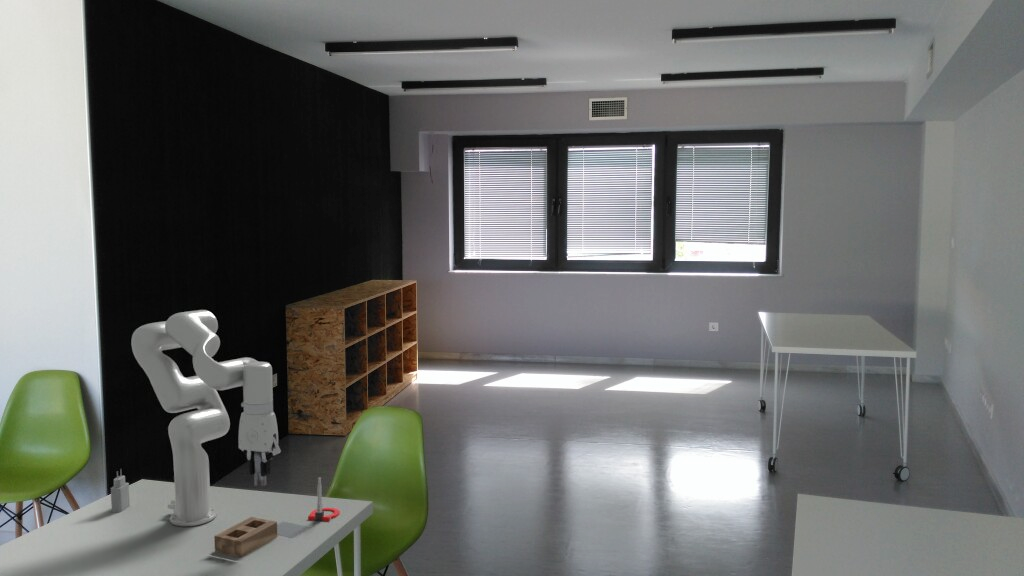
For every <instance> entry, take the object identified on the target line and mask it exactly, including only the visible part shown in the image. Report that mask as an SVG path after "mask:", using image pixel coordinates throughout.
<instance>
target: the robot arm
mask: <svg viewBox="0 0 1024 576" xmlns="http://www.w3.org/2000/svg"><path fill="white" fill-rule="evenodd" d="M218 329H219V323H218V320H217V317H216V316H215V315H214V314H213V313H212V312H211V311H209V310H207V309H198V310H190V311H184V312H183V311H182V312H177V313H174V314H172V315H170V316H169V317H168V319H167V320H165V321H158V322H157V321H156V322H151V323H146V324H143V325H141V326H139V327H138V328H136V329H135V330H134V331H133V333H132V335H131V343H130V344H131V350H132V353H133V356H134V358H135V360H136V361H137V363H138V365H139V366H140V368H142V369H143V371H144V373H145V374H146V376H147V378H148V379H149V381H150V384H151V386H152V388H153V391H154V393H155V395H156V397H157V400H158V401H159V403H160V405H161V407H162V409H163V410H164V411H165V412H167V413H170V414H174V413H175V414H177V413H181V412H185V411H189V410H192V411H189V412H185V413H181V414H179V415H176V416H175V417H174V418H173V419H172V420H171V421H170V423H169V425H168V427H167V430H168V432H167V433H168V437H169V441H170V445H171V450H172V460H173V461H172V462H173V473H174V475H173V480H174V499H172V500H171V501H170V503H169V504H167V509H170V510H173V513H172V514H171V515H170V517H169V521H170V523H171V524H172V525H173V526H174V525H175V526H178V527H194V526H199V525H203V524H206V523H208V522H210V521H213V520H215V518H216V517H217V510H216V509H215V508H214V507H211V483H210V480H211V479H210V461H209V455H208V453H207V452H206V450H205V449H204V448H203V447H202V444H203V443H206V442H208V441H212V440H216V439H219V438H221V437H223V436H226V434H227V433H228V432H229V430H230V426H231V422H230V420H231V419H230V417H229V414H228V411H227V409H226V407H225V405H224V403H223V401H222V399H221V397H220V394H219V393H218V391H225V390H230V389H234V388H238V387H242V391H243V392H242V395H243V401H242V402H241V403H240V407H241V408H243V412H241V414H240V418H239V422H238V423H239V425H238V446H237V447H238V449H239V450H241V451H242V452H243V454H245V456H246V459H247V461H249V462H248V463H249V475H251V476H252V475H254V451H256V452H262V461H263V462H261V476H263V477H264V476H266V477H267V476H268V475H270V474H271V460H273V458H274V457H275V456H276V455H278V454H280V453H281V452H282V450H281V448H280V446H279V431H278V422H277V417H276V414H275V412H274V398H273V397H274V393H273V392H274V391H273V386H274V385H273V367H272V365H271V364H270V362H268V361H258V360H256V359H255V358H253V357H247V356H246V357H240V358H236V359H230V360H224V361H219V362H218V361H217V360H214V358H212V357H214V356H215V355H216V354H217V352H218V350H219V348H220V346H221V340H220V337H219V335H217V334H216V333H217V331H218ZM179 348H183V349H184V350H185V351H186V352H187V353H188V354H189V355H191V356H192V365H193V370H194V372H195V375H193V376H188V377H185V376H184V375H183V373H182V372H181V371H180V368H179V366H178V365H177V363H176V362H175V360H173V359H172V358H171V357H170V356H168V355H167V354H164V353H163V351H167V350H173V349H179ZM193 409H197V410H193Z"/></svg>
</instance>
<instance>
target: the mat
mask: <svg viewBox="0 0 1024 576" xmlns="http://www.w3.org/2000/svg"><path fill="white" fill-rule="evenodd" d="M311 528H312V527H311V526H307V525H303V524H298V523H293V522H288V521H281V522H280V523H277V536H282V537H284V538H285V537H287V538H290V539H293V538H296V537H297V536H298V535H300V534H302V533H304V532H306V531H307V530H308V529H311Z"/></svg>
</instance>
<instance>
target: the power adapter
mask: <svg viewBox="0 0 1024 576" xmlns="http://www.w3.org/2000/svg"><path fill="white" fill-rule="evenodd" d="M119 473H120V475H119ZM130 501H131V500H130V483H129V482H126V476H125V475H122V468H120V472H119V471H116V477H115V478H114V479H113V486H112V487H110V502H111V512H112V513H122V512H123V511H125V510H126V509H127V508H129V507H131V504H130V503H131V502H130Z"/></svg>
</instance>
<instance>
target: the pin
mask: <svg viewBox="0 0 1024 576" xmlns="http://www.w3.org/2000/svg"><path fill="white" fill-rule="evenodd" d="M261 462H263V461H262V452H256V451H254V474H253V475H254V477H253V479H254V486H255V487H256V488H257V487H258V488H259V487H265V486H267V475H266V476H264V477H263V476H261Z"/></svg>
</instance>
